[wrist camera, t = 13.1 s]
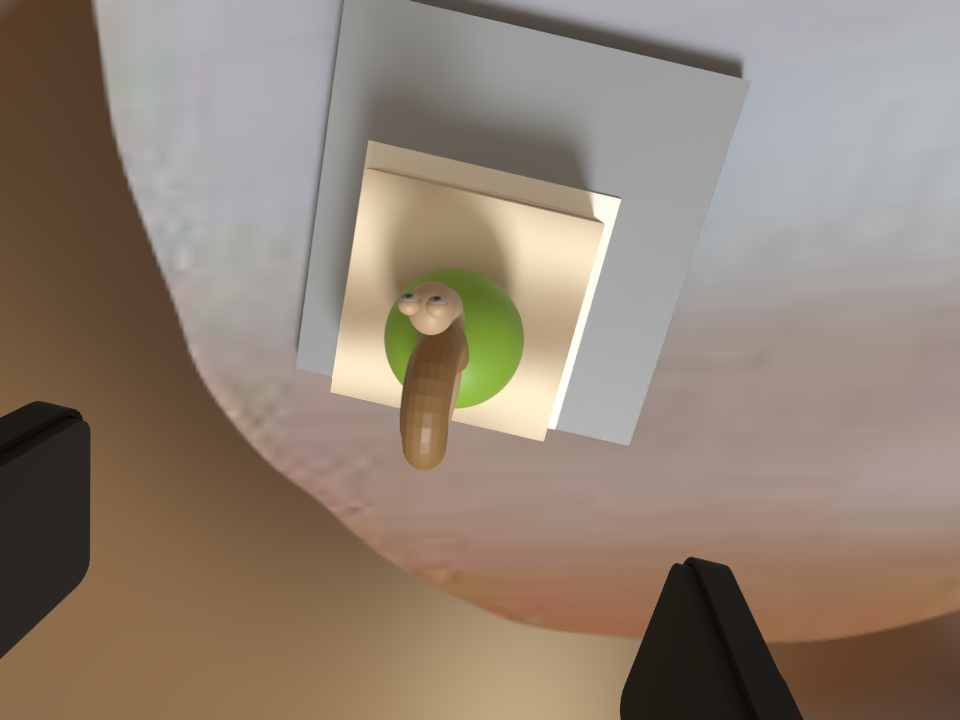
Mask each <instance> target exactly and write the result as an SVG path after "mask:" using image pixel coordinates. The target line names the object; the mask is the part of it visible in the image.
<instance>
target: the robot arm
mask: <svg viewBox="0 0 960 720" xmlns="http://www.w3.org/2000/svg"><path fill="white" fill-rule="evenodd" d="M89 561H90V427H89V425H88V423H87V422H85V421H83V418H82V416H81V414H80V412H78V411H77V410H76V409H72V408H68V407H63V406H59V405H55V404H51V403H47V402H42V401H35V402H32V403H29V404H27V405H25V406H23V407H21V408H19V409H17V410H15V411H13V412H11V413H9V414H7V415H5V416H3V417H1V418H0V659H1V658H2V657H3V656H4V655H5V654H6V653H7V652H8V651H9V650H10V649H11V648H12V647H14V645H16V643H18V642H19V641H20V640H21V639H22V638H23V637H24V636H25V635H26V634H27V633H28V632H29V631H30V630H31V629H33V628H34V627H35V626H36V625H37V624H38V623H39V622H40V621H41V620H42V619H43V618H44V617H45V616H46V615H47V614H48V613H49V612H50V611H52V610H53V609H54V608H55V607H56V606H57V605H58V604H59V603H60V602H61V601H62V600H63V599H64V598H65V597H66V596H67V595H68V594H69V593H71V592H72V590H74V589H75V588H76V587H77V586H78V585H79V584H80V582H81V581H82V579H83V578H84V576H85V574H86V572H87V570H88V567H89ZM620 717H621V720H803V718H802V716H801V714H800V712H799V709H798V707H797V705H796V703H795V701H794V699H793V697H792V695H791V693H790V691H789V688H788V686H787V684H786V682H785V681H784V679H783V678H782V676H781V674H780V673H779V671H778V669H777V667H776V664H775V663H774V660H773V658H772V656H771V654H770V652H769V650H768V647H767V645H766V643H765V641H764V639H763V637H762V635H761V633H760V630H759V628H758V626H757V624H756V622H755V620H754V618H753V616H752V613H751V611H750V609H749V607H748V605H747V603H746V601H745V599H744V597H743V594H742V592H741V590H740V588H739V586H738V584H737V582H736V580H735V577H734V575H733V573H732V571H731V570H730V568H729V567H728V566H726V565H723V564H719V563H715V562H711V561H707V560H703V559H698V558H694V557H689V558H687V559H686V561H685V562H684V564H679V563H676V564H674V565H673V566H672V568H671V570H670V572H669V574H668V577H667V579H666V582H665V584H664V587H663V590H662V592H661V595H660V597H659V600H658V602H657V605H656V607H655V610H654V612H653V615H652V617H651V620H650V623H649V625H648V628H647V630H646V633H645V635H644V638H643V640H642V643H641V645H640V648H639V650H638V653H637V656H636V658H635V661H634V663H633V666H632V668H631V671H630V673H629V676H628V678H627V681H626V683H625V686H624V689H623V692H622V696H621V703H620Z"/></svg>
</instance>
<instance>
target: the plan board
mask: <svg viewBox="0 0 960 720" xmlns="http://www.w3.org/2000/svg"><path fill="white" fill-rule="evenodd" d="M749 84H750V80H746V79H741V78H737V77H733V76H729V75H724V74H720V73H716V72H712V71H707V70H703V69H699V68H695V67H690V66H686V65H682V64H678V63H673V62H669V61H665V60H661V59H656V58H652V57H648V56H643V55H639V54H635V53H631V52H626V51H622V50H618V49H614V48H609V47H605V46H601V45H597V44H592V43H588V42H584V41H580V40H575V39H571V38H567V37H563V36H558V35H554V34H550V33H546V32H541V31H537V30H533V29H528V28H524V27H520V26H516V25H511V24H507V23H503V22H499V21H494V20H490V19H486V18H482V17H477V16H473V15H469V14H465V13H460V12H456V11H452V10H448V9H443V8H439V7H435V6H431V5H426V4H422V3H418V2H413V1H409V0H344V5H343V12H342V20H341V28H340V35H339V43H338V50H337V58H336V66H335V73H334V81H333V88H332V96H331V103H330V111H329V119H328V126H327V134H326V141H325V149H324V157H323V164H322V172H321V179H320V187H319V195H318V202H317V210H316V217H315V225H314V232H313V240H312V248H311V255H310V263H309V270H308V278H307V286H306V293H305V301H304V308H303V316H302V324H301V331H300V339H299V346H298V354H297V362H296V369H300V370H305V371H309V372H313V373H318V374H322V375H326V376H331V377H332V378H333V372H334V366H335V359H336V353H337V346H338V340H339V333H340V326H341V320H342V313H343V307H344V300H345V294H346V287H347V281H348V274H349V268H350V261H351V255H352V248H353V242H354V235H355V229H356V222H357V216H358V209H359V203H360V196H361V190H362V183H363V176H364V170H365V168H377V167H388V168H392V169H396V170H400V171H405V172H409V173H413V174H418V175H422V176H426V177H430V178H435V179H439V180H443V181H447V182H452V183H456V184H460V185H465V186H469V187H473V188H477V189H482V190H486V191H490V192H495V193H499V194H503V195H507V196H512V197H516V198H520V199H524V200H529V201H533V202H537V203H542V204H546V205H550V206H554V207H559V208H563V209H567V210H572V211H576V212H580V213H584V214H589V215H593V216H595V217H596V218H598V219H599V220H600V221H602V222H603V223H604V224H605V226H604V229H603V233H602V237H601V240H600V244H599V247H598V251H597V254H596V258H595V261H594V265H593V268H592V272H591V275H590V279H589V283H588V286H587V290H586V293H585V297H584V300H583V304H582V307H581V311H580V314H579V318H578V321H577V325H576V329H575V332H574V336H573V339H572V343H571V346H570V350H569V353H568V357H567V360H566V364H565V368H564V371H563V375H562V378H561V382H560V385H559V389H558V392H557V396H556V399H555V403H554V406H553V410H552V414H551V417H550V421H549V424H548V428H551V429H558V430H563V431H567V432H571V433H576V434H580V435H584V436H588V437H593V438H597V439H601V440H606V441H610V442H614V443H619V444H623V445H627V446H629V445H630V442H631V439H632V436H633V433H634V430H635V427H636V424H637V421H638V418H639V415H640V412H641V409H642V406H643V403H644V400H645V397H646V394H647V391H648V388H649V385H650V382H651V379H652V376H653V373H654V370H655V367H656V364H657V361H658V358H659V355H660V352H661V349H662V346H663V343H664V340H665V337H666V334H667V331H668V328H669V325H670V322H671V319H672V316H673V313H674V310H675V307H676V304H677V301H678V298H679V295H680V292H681V289H682V286H683V283H684V280H685V277H686V274H687V271H688V268H689V265H690V262H691V259H692V256H693V253H694V250H695V247H696V244H697V241H698V238H699V235H700V232H701V229H702V226H703V223H704V220H705V217H706V214H707V211H708V208H709V205H710V202H711V199H712V196H713V193H714V190H715V187H716V184H717V181H718V178H719V175H720V172H721V169H722V166H723V163H724V160H725V157H726V154H727V151H728V147H729V144H730V141H731V138H732V135H733V132H734V129H735V126H736V123H737V120H738V117H739V114H740V111H741V108H742V105H743V102H744V99H745V96H746V93H747V90H748V87H749Z"/></svg>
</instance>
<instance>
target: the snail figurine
mask: <svg viewBox="0 0 960 720" xmlns="http://www.w3.org/2000/svg"><path fill="white" fill-rule="evenodd" d="M384 345H385V352H386V356H387V360H388V363H389V365H390V368H391V370H392V372H393V373H394V375H395V377H396V378H397V380H398V381H399V382H400V384H401V385H402V386H403V388H402V396H401V407H400V432H401V436H402V447H403V453H404V455H405V458H406V459H407V461H408V463H409V464H410V465H412V466H413V467H414V468H416V469H419V470H429V469H432V468H434V467H436V466H437V465H438V464H439V463H440V462H441V461H442V459H443V457H444V455H445V450H446V444H447V434H448V426H449V423H450V421H451V418H452V415H453V412H454V409H458V408H467V407H471V406H475V405H478V404H480V403H483V402H485V401H487V400H489V399H490V398H492V397H494V396H495V395H496V394H498V393H499V392H500V391H501V390H502V389H503V388H504V387H505V386H506V385H507V384H508V383H509V381H510V380H511V379H512V377H513V376H514V374H515V372H516V370H517V368H518V366H519V363H520V361H521V357H522V353H523V347H524V331H523V325H522V320H521V317H520V314H519V312H518V309H517V307H516V305H515V304H514V302H513V300H512V299H511V298H510V296H509V295H508V294H507V293H506V291H505V290H504V289H503V288H502V287H500V286H499V285H498V284H497V283H495V282H494V281H493V280H491V279H489V278H488V277H486V276H484V275H482V274H479V273H476V272H473V271H469V270H463V269H445V270H439V271H435V272H432V273H429V274H426V275H424V276H422V277H420V278H419V279H417V280H415V281H414V282H413V283H411V284H410V285H409V286H408V287H407V288H405V289H404V290H403V292H402V293H401V294H400V295H399V296H398V298H397V299H396V301H395V302H394V304H393V306H392V308H391V310H390V312H389V314H388V317H387V321H386V325H385V332H384Z"/></svg>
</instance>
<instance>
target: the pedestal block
mask: <svg viewBox="0 0 960 720" xmlns="http://www.w3.org/2000/svg"><path fill="white" fill-rule="evenodd" d="M604 226H605V224H604V223H603V222H602V221H600V220H599V219H598V218H596V217H595V216H593V215H589V214H584V213H580V212H576V211H572V210H567V209H563V208H559V207H554V206H550V205H546V204H542V203H537V202H533V201H529V200H524V199H520V198H516V197H512V196H507V195H503V194H499V193H495V192H490V191H486V190H482V189H477V188H473V187H469V186H465V185H460V184H456V183H452V182H447V181H443V180H439V179H435V178H430V177H426V176H422V175H418V174H413V173H409V172H405V171H400V170H396V169H392V168H388V167H377V168H365V170H364V176H363V183H362V190H361V196H360V203H359V209H358V216H357V222H356V229H355V235H354V242H353V248H352V255H351V261H350V268H349V274H348V281H347V287H346V294H345V300H344V307H343V313H342V320H341V326H340V333H339V340H338V346H337V353H336V359H335V366H334V372H333V379H332V385H331V392H333V393H337V394H341V395H346V396H350V397H354V398H359V399H363V400H367V401H372V402H376V403H380V404H384V405H389V406H393V407H397V408H400V407H401V396H402V388H403V386H402V385H401V384H400V382H399V381H398V380H397V378H396V377H395V375H394V373H393V372H392V370H391V368H390V365H389V363H388V360H387V356H386V352H385V345H384V332H385V325H386V321H387V317H388V314H389V312H390V310H391V308H392V306H393V304H394V302H395V301H396V299H397V298H398V296H399V295H400V294H401V293H402V292H403V290H404V289H405V288H407V287H408V286H409V285H410V284H411V283H413V282H414V281H415V280H417V279H419V278H420V277H422V276H424V275H426V274H429V273H432V272H435V271H439V270H445V269H463V270H469V271H473V272H476V273H479V274H482V275H484V276H486V277H488V278H489V279H491V280H493V281H494V282H495V283H497V284H498V285H499V286H500V287H502V288H503V289H504V290H505V291H506V293H507V294H508V295H509V296H510V298H511V299H512V300H513V302H514V304H515V305H516V307H517V309H518V312H519V314H520V317H521V320H522V325H523V331H524V347H523V353H522V357H521V361H520V363H519V366H518V368H517V370H516V372H515V374H514V376H513V377H512V379H511V380H510V381H509V383H508V384H507V385H506V386H505V387H504V388H503V389H502V390H501V391H500V392H499V393H498V394H496V395H495V396H494V397H492V398H490V399H489V400H487V401H485V402H483V403H480V404H478V405H475V406H471V407H467V408H458V409H454V412H453V415H452V418H451V420H453V421H457V422H462V423H466V424H470V425H475V426H479V427H483V428H488V429H492V430H496V431H500V432H505V433H509V434H513V435H518V436H522V437H526V438H531V439H535V440H539V441H543V442H544V438H545V435H546V431H547V428H548V424H549V421H550V417H551V414H552V410H553V406H554V403H555V399H556V396H557V392H558V389H559V385H560V382H561V378H562V375H563V371H564V368H565V364H566V360H567V357H568V353H569V350H570V346H571V343H572V339H573V336H574V332H575V329H576V325H577V321H578V318H579V314H580V311H581V307H582V304H583V300H584V297H585V293H586V290H587V286H588V283H589V279H590V275H591V272H592V268H593V265H594V261H595V258H596V254H597V251H598V247H599V244H600V240H601V237H602V233H603V229H604Z"/></svg>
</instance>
